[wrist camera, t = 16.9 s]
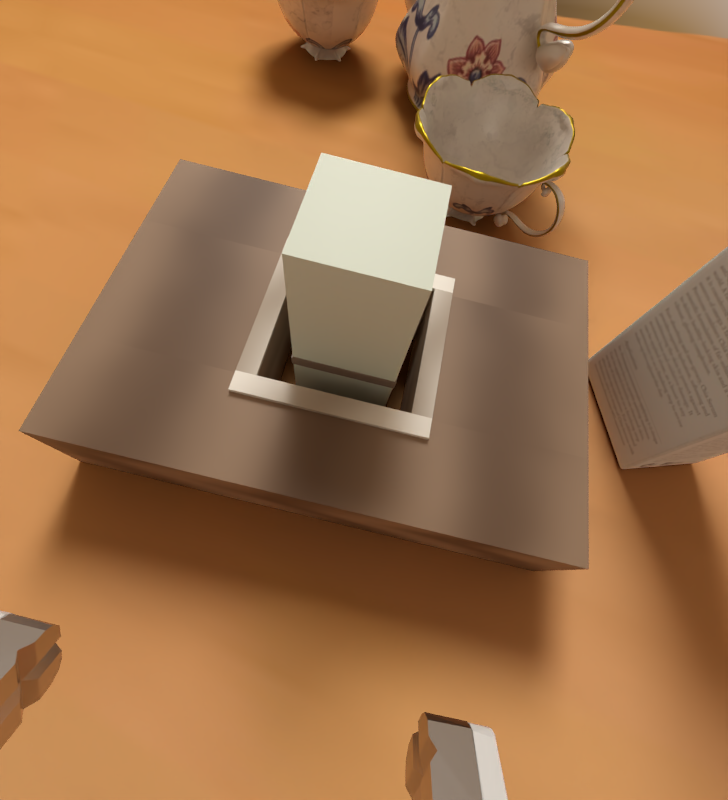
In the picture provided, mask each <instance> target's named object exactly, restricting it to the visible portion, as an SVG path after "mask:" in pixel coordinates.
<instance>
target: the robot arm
mask: <svg viewBox="0 0 728 800" xmlns="http://www.w3.org/2000/svg"><path fill="white" fill-rule="evenodd" d="M60 637H61V633H60V626H59V625H55V624H51V623H47V622H43V621H39V620H35V619H31V618H27V617H23V616H19V615H15V614H12V613H8V612H4V611H0V749H1V748H2V747H3V745H4V744H5V743H6V742H7V740H8V739H9V738H10V737H11V735H12V734H13V733H14V732H15V730H16V729H17V728H18V726H19V725H20V724H21V723H22V716H23V709H24V708H26V707H28V706H29V705H31V704H33V703H35V702H36V701H38V700H40V698H41V697H42V696H43V694H44V693H45V692H46V691H47V689H48V688H49V687H50V685H51V683H52V682H53V680H54V678H55V676H56V674H57V672H58V670H59V667H60V664H61V660H62V651H61V649H60V648H59V647H58V646H57V644H56V641H57V640H58V639H59V638H60ZM418 730H419V731H418V732H416V733H414V734H413V735H412V737H411V740H410V742H409V746H408V751H407V757H406V770H405V786H406V788H407V790H408V792H409V794H410V796H411V798H412V800H508V797H507V792H506V787H505V783H504V778H503V773H502V768H501V763H500V758H499V753H498V748H497V743H496V738H495V734H494V732H493V730H492V729H491V728H489V727H487V726H482V725H478V724H473V723H469V722H467V721H463V720H458V719H454V718H449V717H444V716H440V715H435V714H431V713H426V712H424V713H423V714H421V716H420V719H419V721H418Z"/></svg>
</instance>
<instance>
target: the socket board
mask: <svg viewBox="0 0 728 800" xmlns="http://www.w3.org/2000/svg"><path fill="white" fill-rule="evenodd" d="M305 193H306V190H302V189H298V188H294V187H290V186H286V185H282V184H278V183H274V182H270V181H266V180H262V179H258V178H254V177H250V176H246V175H241V174H237V173H233V172H229V171H225V170H221V169H217V168H213V167H209V166H205V165H201V164H197V163H193V162H189V161H185V160H181V159H180V161H179V162H178V164H177V166H176V167H175V169H174V171H173V172H172V174H171V176H170V177H169V179H168V181H167V182H166V184H165V186H164V187H163V189H162V191H161V193H160V194H159V196H158V198H157V199H156V201H155V203H154V204H153V206H152V208H151V209H150V211H149V213H148V214H147V216H146V218H145V219H144V221H143V223H142V224H141V226H140V228H139V229H138V231H137V233H136V235H135V236H134V238H133V240H132V241H131V243H130V245H129V246H128V248H127V250H126V251H125V253H124V255H123V256H122V258H121V260H120V261H119V263H118V265H117V266H116V268H115V270H114V271H113V273H112V275H111V277H110V278H109V280H108V282H107V283H106V285H105V287H104V288H103V290H102V292H101V293H100V295H99V297H98V298H97V300H96V302H95V303H94V305H93V307H92V308H91V310H90V312H89V314H88V315H87V317H86V319H85V320H84V322H83V324H82V325H81V327H80V329H79V330H78V332H77V334H76V335H75V337H74V339H73V340H72V342H71V344H70V345H69V347H68V349H67V350H66V352H65V354H64V356H63V357H62V359H61V361H60V362H59V364H58V366H57V367H56V369H55V371H54V372H53V374H52V376H51V377H50V379H49V381H48V382H47V384H46V386H45V387H44V389H43V391H42V393H41V394H40V396H39V398H38V399H37V401H36V403H35V404H34V406H33V408H32V409H31V411H30V413H29V414H28V416H27V418H26V419H25V421H24V423H23V424H22V426H21V428H20V429H19V431H20V432H22V433H24V434H26V435H28V436H30V437H32V438H34V439H36V440H38V441H40V442H43V443H45V444H47V445H49V446H51V447H53V448H55V449H57V450H59V451H61V452H63V453H65V454H67V455H69V456H71V457H73V458H75V459H77V460H79V461H82V462H86V463H90V464H94V465H99V466H103V467H107V468H111V469H115V470H119V471H123V472H127V473H132V474H136V475H140V476H144V477H148V478H152V479H156V480H160V481H165V482H169V483H173V484H177V485H181V486H185V487H189V488H193V489H198V490H202V491H206V492H210V493H214V494H218V495H222V496H226V497H231V498H235V499H239V500H243V501H247V502H251V503H255V504H259V505H264V506H268V507H272V508H276V509H280V510H284V511H288V512H292V513H297V514H301V515H305V516H309V517H313V518H317V519H321V520H325V521H330V522H334V523H338V524H342V525H346V526H350V527H354V528H358V529H363V530H367V531H371V532H375V533H379V534H383V535H387V536H391V537H396V538H400V539H404V540H408V541H412V542H416V543H420V544H424V545H429V546H433V547H437V548H441V549H445V550H449V551H453V552H457V553H462V554H466V555H470V556H474V557H478V558H482V559H486V560H490V561H495V562H499V563H503V564H507V565H511V566H515V567H519V568H523V569H528V570H532V571H545V570H576V569H589V539H588V261H586V260H582V259H578V258H574V257H570V256H566V255H562V254H558V253H554V252H550V251H546V250H542V249H538V248H534V247H530V246H526V245H522V244H518V243H514V242H510V241H506V240H502V239H498V238H494V237H490V236H486V235H482V234H478V233H474V232H470V231H466V230H462V229H458V228H454V227H450V226H446V225H444V230H443V235H442V241H441V246H440V251H439V256H438V261H437V266H436V272H435V277H434V282H433V287H432V292H431V294H430V297H429V299H428V302H427V304H426V307H425V309H424V312H423V314H422V317H421V319H420V321H419V324H418V326H417V329H416V331H415V334H414V336H413V339H414V343H413V348H412V353H411V358H410V363H409V368H408V373H407V378H406V383H405V388H404V393H403V398H402V403H401V408H400V410H396V409H392V408H388V407H384V406H380V405H376V404H371V403H367V402H363V401H359V400H355V399H351V398H347V397H343V396H339V395H335V394H331V393H327V392H323V391H318V390H314V389H310V388H306V387H302V386H298V385H294V384H290V383H286V382H282V381H280V379H281V376H282V373H283V370H284V367H285V364H286V361H287V358H288V355H289V352H290V349H291V347H292V344H291V335H290V326H289V316H288V307H287V298H286V288H285V279H284V270H283V260H282V252H283V249H284V247H285V244H286V242H287V239H288V237H289V234H290V231H291V229H292V226H293V224H294V221H295V219H296V216H297V214H298V211H299V209H300V206H301V204H302V201H303V199H304V196H305Z"/></svg>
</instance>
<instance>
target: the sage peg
mask: <svg viewBox="0 0 728 800" xmlns="http://www.w3.org/2000/svg"><path fill="white" fill-rule="evenodd" d="M451 189H452V185H448V184H444V183H440V182H436V181H432V180H428V179H424V178H420V177H416V176H412V175H408V174H404V173H400V172H396V171H392V170H388V169H384V168H380V167H376V166H372V165H368V164H364V163H360V162H357V161H353V160H349V159H345V158H341V157H337V156H333V155H329V154H325V153H321V155H320V158H319V161H318V163H317V166H316V168H315V171H314V173H313V176H312V178H311V181H310V183H309V186H308V188H307V191H306V193H305V196H304V199H303V201H302V204H301V206H300V209H299V211H298V214H297V216H296V219H295V221H294V224H293V226H292V229H291V231H290V234H289V237H288V239H287V242H286V244H285V247H284V249H283V252H282V260H283V270H284V279H285V288H286V298H287V307H288V316H289V326H290V335H291V344H292V356H291V361H292V364H294V373H295V382H296V385H298V386H302V387H306V388H310V389H314V390H318V391H323V392H327V393H331V394H335V395H339V396H343V397H347V398H351V399H355V400H359V401H363V402H367V403H371V404H376V405H380V406H384V407H385V406H386V403H387V401H388V398H389V396H390V393H391V391H392V389H394V388H395V385H396V382H397V377H398V374H399V371H400V369H401V366H402V364H403V361H404V359H405V356H406V354H407V351H408V349H409V346H410V344H411V341H412V339H413V336H414V334H415V331H416V329H417V326H418V324H419V321H420V319H421V317H422V314H423V312H424V309H425V307H426V304H427V302H428V299H429V297H430V294H431V292H432V287H433V282H434V277H435V272H436V266H437V261H438V256H439V251H440V246H441V241H442V235H443V230H444V225H445V220H446V215H447V209H448V204H449V199H450V194H451Z"/></svg>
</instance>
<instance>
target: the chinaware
mask: <svg viewBox="0 0 728 800" xmlns="http://www.w3.org/2000/svg"><path fill="white" fill-rule="evenodd" d="M377 1H378V0H278V3H279V6H280V8H281V11H282V13H283V15H284V17H285V19H286V20H287V22H288V23H289V25H290V26H291V28H292V29H293V30H294V31H295V32H296V33H297V35H298V36H300V37H301V38H302V39H303V40H304V41H306V44H303V45H301V48H305V49H306V50H307V51H308V53H310V54H311V55H312V56H313V57H314V58H315V61H317V60H320V59H321V60H338V61H341V59H340V58H341V57H342V56H343V55H344V54H345V52H346V51H347V50H350V47H348V46H346V45H348V44H350V43H352V42H353V41H354V40H356V39H357V38H358V37H359V36H360V35H361V34H362V33H363V31H364V30H365V29H366V27H367V25H368V24H369V22H370V20H371V18H372V16H373V14H374V11H375V8H376V5H377ZM633 1H634V0H618V1H617V2H616V4H615V5H614V6H613V7H612V8H611V9H610V10H609V11H608V12H607V13H606V14H605V15H604V16H602V17H601V18H600V19H598V20H596V21H595V22H593V23H590V24H588V25H585V26H579V27H570V26H564V25H561V24H557V17H556V0H405V3H406V8H407V12H408V13H407V14H406V16H405V17H404V19H403V21H402V22H401V24H400V26H399V28H398V31H397V33H396V48H397V52H398V54H399V57H400V59H401V62H402V64H403V66H404V68H405V70H406V72H407V74H408V77H409V79H408V82H407V95H408V98H409V100H410V102H411V104H412V105H413V107H414V108H415V109H416V110H417V113H416V117H415V124H414V129H415V133H416V135H417V137H418V138H419V139H421V140H422V141H423V157H424V165H425V170H426V173H427V177H428V179H429V180H432V181H436V182H440V183H444V184H448V185H452V189H451V194H450V199H449V204H448V209H447V215H446V217H448V216H452V217H455V218H457V219H460V220H463V221H467V222H470V223H471V224H472V225H473V226H475V222H476V221H477V220H479V219H481V218H483V217H484V216H490V215H495V214H496V215H495V216H494V223H495V225H496V226H497V227H501V226H503V225H505V224H506V223H507V221H508V216H509V217H510V218H511V219H512V220H513V222H514V223H515V224H516V225H517V226H518V228H519V229H520V230H521V231H523V232H524V233H525V234H527V235H529V236H533V237H541V236H545V235H547V234H549V233H550V232H552V231H553V230H554V229H555V228H556V227H557V226H558V225H559V223H560V222H561V219H562V217H563V214H564V209H565V199H564V196H563V193H562V192H561V190H560V189H559V188H558V187H557V185H555V184H554V183H553V182H551V181H556V180H558V179H559V178H561V177H562V176H563V175H564V174H565V172H566V169H567V167H568V166H569V164H570V158H569V155H568V153H569V152H570V149H571V146H572V143H573V140H574V137H575V129H574V121H573V118H572V117H571V116H570V115H568V114H567V113H566V112H565V111H564V110H563V109H561V108H560V107H556V106H549V105H545V104H541V105H540V106H539V107H538V104H539V100H538V99H537V97H538V94H539V92H540V90H541V89H542V87H543V86H544V85H545V84H546V83H547V81H548V80H549V79H550V78H551V76H552V75H553V73H554V72H556V71H558V70H560V69H561V68H562V67H563V66H564V65H565V64H566V62H567V61H568V59H569V58H570V56H571V55H572V53H573V50H574V45H573V43H572V42H571V41H569V40H581V39H586V38H589V37H591V36H594V35H596V34H598V33H600V32H602V31H603V30H605V29H606V28H608V27H609V26H610V25H612V24H613V23H614V22H615V21H616V20H618V19H619V18H620V17H621V15H623V14H624V13H625V11H626V10H627V9H628V8H629V7H630V5H631V4H632V3H633ZM558 36H559V37H561V38H564V39H569V40H558ZM540 184H542V185H541V189H542V194H541V196H543V197H546V196H547V195H549V193H550V192H551V191H552V192H553V193H554V195H555V198H556V203H557V214H556V218H555V221H554V223H553V224H552V225H551V226H550V227H549V228H548V229H546V230H542V231H536V230H532V229H530V228H529V227H527V226H526V225H525V224H524V223H523V222H522V221H521V220H520V219H519V218H518V217H517V216H516V215H515V214H514V213H513V212H511V211H508V210H509V209H511V208H513V207H514V206H516V205H518V204H519V203H521V202H522V201H523V200H525V199H526V198H527V197H528V196H529V195H531V194H532V193H533V192H534V190H535V189H536V188H537V187H538V186H539V185H540ZM545 185H546V186H548V187H547V188H545Z"/></svg>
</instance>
